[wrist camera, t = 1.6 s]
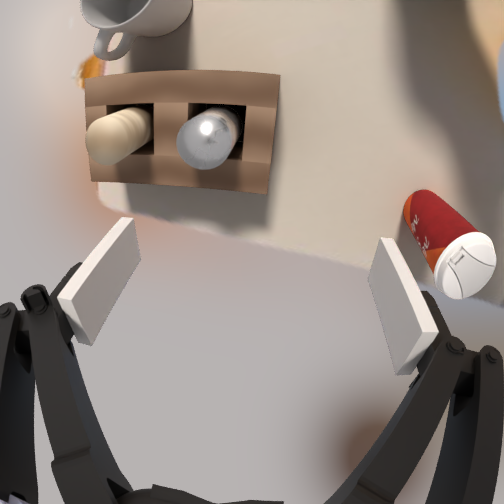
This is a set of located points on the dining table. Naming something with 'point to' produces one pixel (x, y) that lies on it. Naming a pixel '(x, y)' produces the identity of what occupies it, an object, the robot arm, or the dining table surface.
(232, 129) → the aluminium peg
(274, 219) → the dining table surface
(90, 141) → the beech peg
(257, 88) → the walnut socket block
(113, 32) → the mug
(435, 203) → the coffee cup
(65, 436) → the robot arm
